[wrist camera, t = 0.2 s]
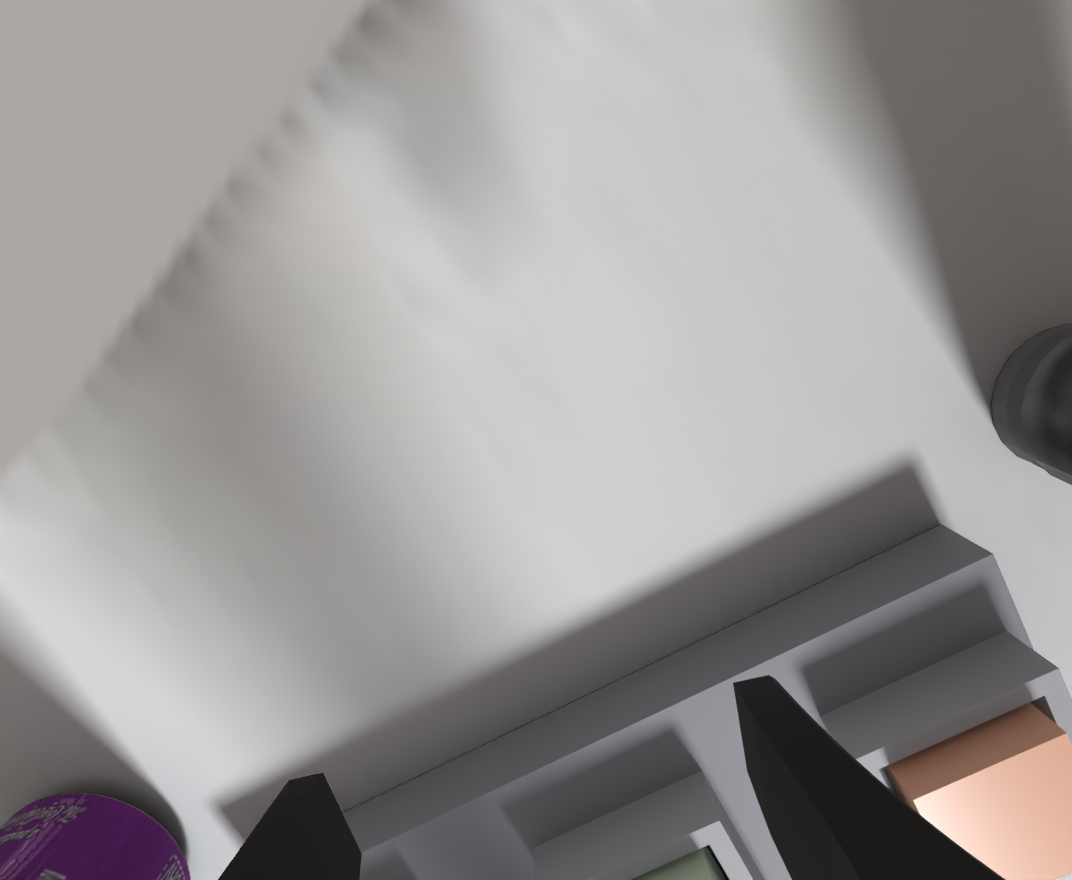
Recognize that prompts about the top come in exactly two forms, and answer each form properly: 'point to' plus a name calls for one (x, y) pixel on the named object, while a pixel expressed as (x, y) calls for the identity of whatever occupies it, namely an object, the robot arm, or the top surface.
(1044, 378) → the beverage cup
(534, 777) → the button panel
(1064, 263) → the top surface
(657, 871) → the sage button
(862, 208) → the top surface
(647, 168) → the top surface
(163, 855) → the beverage can
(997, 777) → the terracotta button
